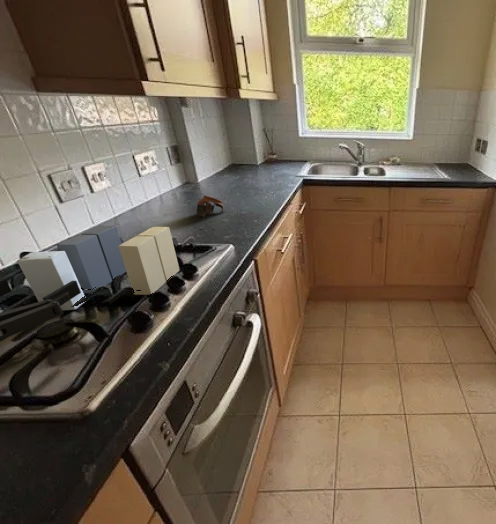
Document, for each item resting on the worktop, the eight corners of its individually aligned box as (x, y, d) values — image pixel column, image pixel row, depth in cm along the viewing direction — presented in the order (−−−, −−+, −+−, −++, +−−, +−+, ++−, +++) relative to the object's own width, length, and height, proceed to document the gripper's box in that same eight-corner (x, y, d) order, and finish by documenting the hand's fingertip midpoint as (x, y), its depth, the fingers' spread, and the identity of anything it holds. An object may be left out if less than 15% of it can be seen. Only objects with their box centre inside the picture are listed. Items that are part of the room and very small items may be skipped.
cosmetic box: (87, 300, 73) (67, 249, 67) (74, 311, 69) (52, 258, 63) (55, 301, 72) (33, 250, 66) (40, 313, 68) (15, 259, 62)
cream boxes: (133, 294, 75) (118, 245, 70) (164, 270, 86) (152, 226, 81) (151, 294, 75) (137, 246, 70) (179, 270, 87) (169, 226, 81)
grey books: (76, 293, 75) (56, 244, 70) (114, 268, 86) (99, 225, 81) (93, 293, 75) (75, 244, 70) (129, 269, 86) (116, 225, 81)
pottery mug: (193, 213, 132) (200, 194, 132) (218, 221, 137) (224, 202, 137) (195, 214, 122) (202, 192, 122) (222, 222, 127) (228, 202, 127)
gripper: (-170, 379, 47) (-14, 300, 66) (6, 383, 47) (111, 303, 67) (-208, 336, 44) (-32, 267, 63) (-18, 341, 44) (99, 270, 63)
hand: (42, 285), depth 65 cm, fingers open, 13 cm apart
